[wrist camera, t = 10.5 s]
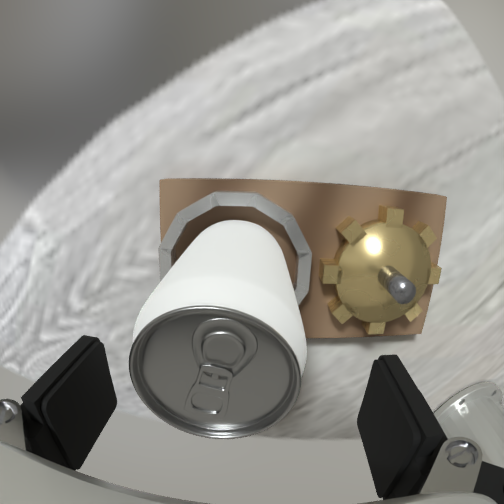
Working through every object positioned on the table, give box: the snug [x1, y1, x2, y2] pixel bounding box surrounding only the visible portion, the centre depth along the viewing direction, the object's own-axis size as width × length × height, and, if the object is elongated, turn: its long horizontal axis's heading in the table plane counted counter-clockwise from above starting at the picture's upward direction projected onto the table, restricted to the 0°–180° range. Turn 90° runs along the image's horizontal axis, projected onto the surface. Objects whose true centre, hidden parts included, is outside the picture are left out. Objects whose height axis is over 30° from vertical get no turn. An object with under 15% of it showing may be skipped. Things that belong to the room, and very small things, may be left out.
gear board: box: [160, 178, 447, 338], centre depth 21 cm, size 20×11×2 cm, turn 88°
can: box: [129, 220, 307, 439], centre depth 15 cm, size 6×6×12 cm
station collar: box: [159, 191, 312, 305], centre depth 20 cm, size 10×10×1 cm
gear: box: [318, 205, 441, 334], centre depth 18 cm, size 9×9×4 cm
